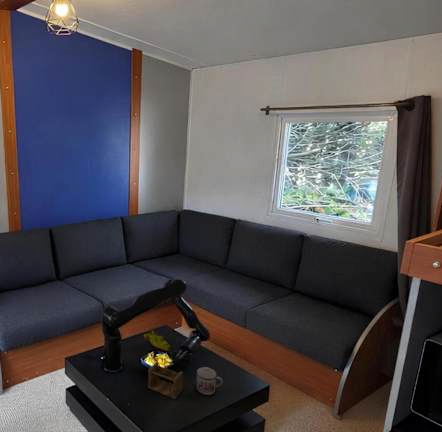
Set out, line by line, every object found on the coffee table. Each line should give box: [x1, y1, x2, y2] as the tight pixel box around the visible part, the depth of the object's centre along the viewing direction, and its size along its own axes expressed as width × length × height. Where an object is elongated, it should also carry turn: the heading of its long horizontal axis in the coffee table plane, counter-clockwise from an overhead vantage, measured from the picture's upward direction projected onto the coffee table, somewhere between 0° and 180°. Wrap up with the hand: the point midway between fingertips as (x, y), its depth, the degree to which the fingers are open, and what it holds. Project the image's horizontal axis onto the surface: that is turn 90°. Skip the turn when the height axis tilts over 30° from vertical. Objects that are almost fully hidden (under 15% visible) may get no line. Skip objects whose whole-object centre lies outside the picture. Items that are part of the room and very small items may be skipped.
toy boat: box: [143, 330, 171, 352], centre depth 228 cm, size 6×18×10 cm, turn 34°
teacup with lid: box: [195, 366, 223, 396], centre depth 190 cm, size 12×9×12 cm
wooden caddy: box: [147, 361, 184, 400], centre depth 191 cm, size 14×8×10 cm, turn 53°
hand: (174, 363), depth 198 cm, fingers closed
